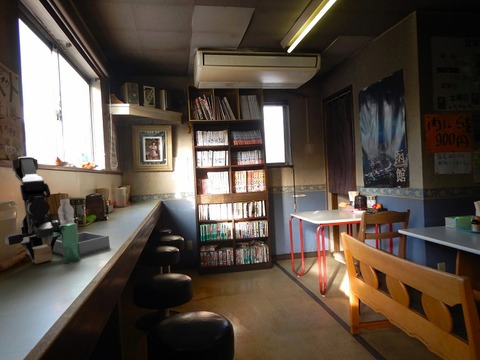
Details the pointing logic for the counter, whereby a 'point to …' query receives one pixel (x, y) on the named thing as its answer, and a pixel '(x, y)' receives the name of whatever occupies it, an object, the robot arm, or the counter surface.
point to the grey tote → (86, 243)
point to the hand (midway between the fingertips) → (41, 257)
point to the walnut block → (42, 253)
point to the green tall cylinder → (70, 243)
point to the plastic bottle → (66, 212)
